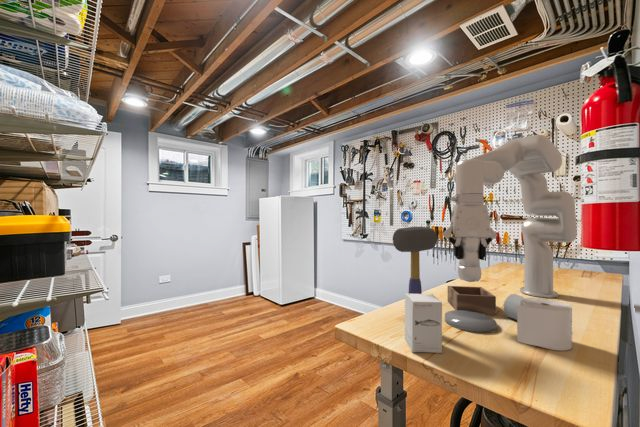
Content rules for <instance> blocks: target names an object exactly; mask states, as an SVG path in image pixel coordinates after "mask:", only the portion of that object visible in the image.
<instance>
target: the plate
mask: <svg viewBox="0 0 640 427" xmlns="http://www.w3.org/2000/svg"><path fill="white" fill-rule="evenodd" d="M444 321H445V323H446V324H448V325H449V326H451V327H452V328H455V329H458V330H461V331H465V332H469V333H477V334H478V333H479V334H485V333H486V334H490V333H493V332H495V331H497V328H498V327H497V321H496V320H495V319H494V318H493V317H491V316H489V315H488V314H481V313H477V312H472V311H465V310H455V309H454V310H449V311H445V314H444Z"/></svg>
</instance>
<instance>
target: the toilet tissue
mask: <svg viewBox="0 0 640 427" xmlns="http://www.w3.org/2000/svg"><path fill="white" fill-rule="evenodd" d="M520 304H521V305H520V306H519V305H517V320H516V323H517V324H516V327H517V328H516V330H517V331H516V334H517V335H516V337H517V339H516V342H518V343H523V344H526V345H531V346H536V347H538V348H543V349H547V350H551V351H552V350H553V351H569V350H571V349H572V348H573V307H572V306H571V305H569V304H567V303H565V302H560V301H558V300H552V299H549V298H543V297H534V296H532V297H524V298H522V299H521V302H520Z"/></svg>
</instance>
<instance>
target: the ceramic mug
mask: <svg viewBox="0 0 640 427" xmlns="http://www.w3.org/2000/svg"><path fill="white" fill-rule="evenodd" d="M522 298H525V297H523V296H521V295H518V294H515V293H513V294H512V293H511V294H509V295H508V296H506V298H505V299H504V303H503V312H504V315H505V316H506V317H508V318H510V319H513V320H515V321H517V305H519V306H520V305H521V304H520V302H521V299H522Z"/></svg>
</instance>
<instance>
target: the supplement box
mask: <svg viewBox="0 0 640 427" xmlns="http://www.w3.org/2000/svg"><path fill="white" fill-rule="evenodd" d="M404 340H405V343H406V344H407V346H408V347H409V349H410V351H411V352H412V353H433V354H434V353H435V354H442V352H443V351H442V350H443V302H442V301H441V300H440V299H439V298H438V297H436V296H435V295H434V294H433V293H422V294H409V293H404Z"/></svg>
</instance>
